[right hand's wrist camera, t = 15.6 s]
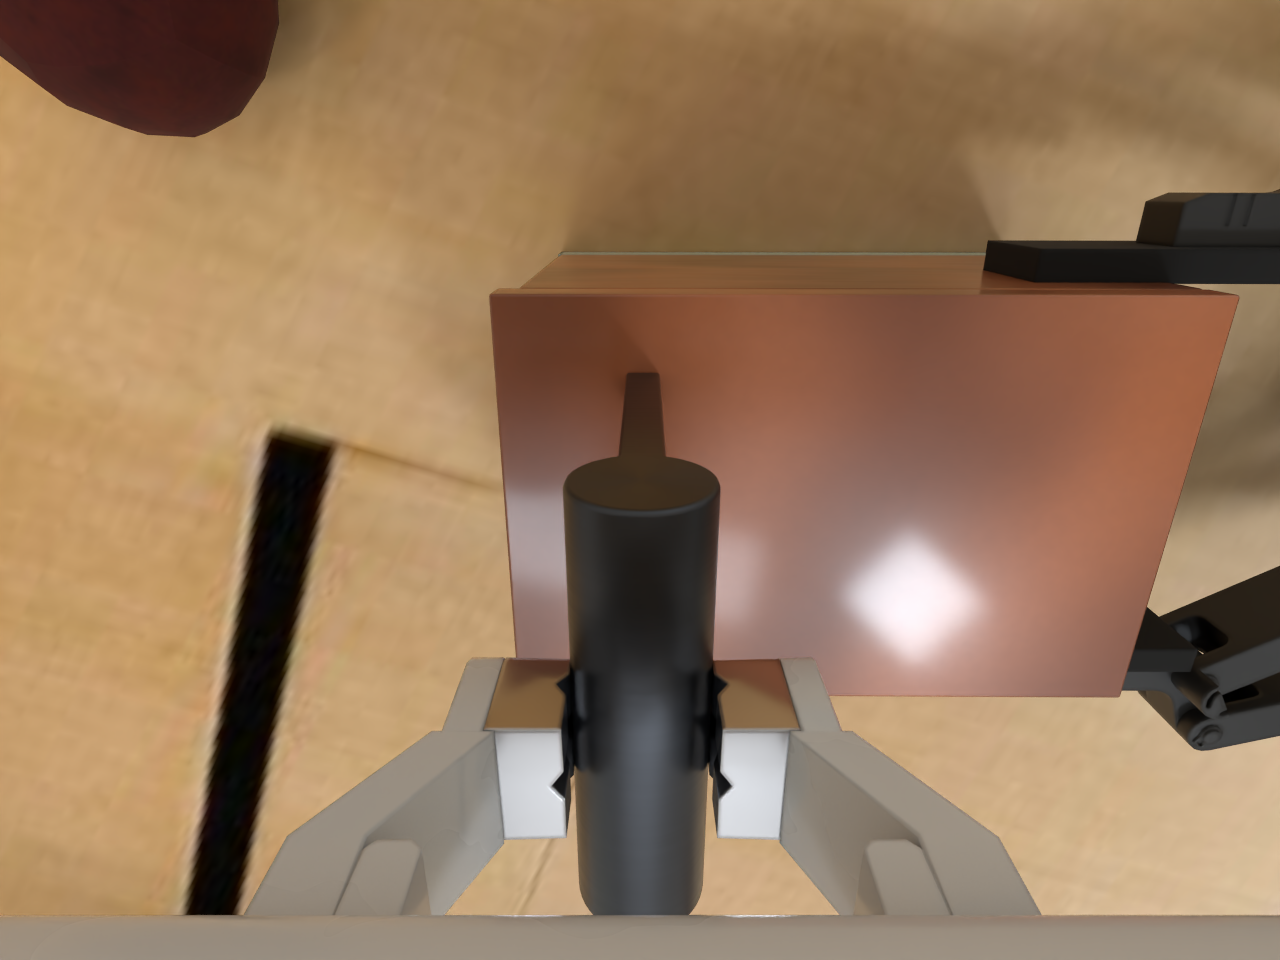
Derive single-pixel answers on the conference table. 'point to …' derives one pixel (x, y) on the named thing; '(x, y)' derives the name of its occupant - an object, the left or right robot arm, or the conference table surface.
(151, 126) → the potato
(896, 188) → the conference table surface
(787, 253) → the chest
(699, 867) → the lid
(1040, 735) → the conference table surface
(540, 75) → the conference table surface
